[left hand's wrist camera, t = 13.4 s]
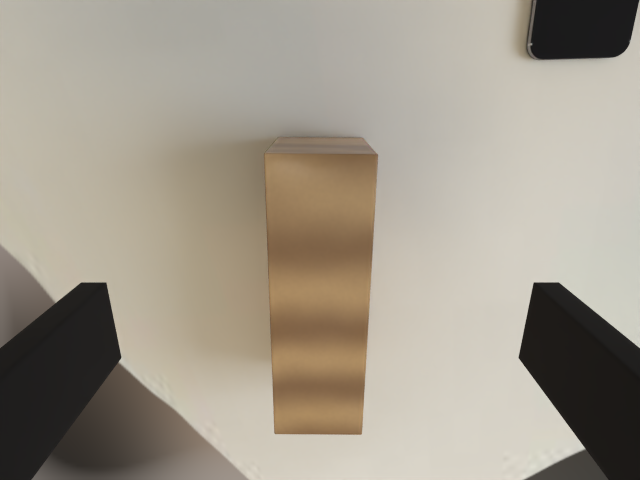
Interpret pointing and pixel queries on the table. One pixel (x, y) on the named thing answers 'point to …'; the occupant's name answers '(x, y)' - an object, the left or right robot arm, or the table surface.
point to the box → (319, 280)
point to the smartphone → (580, 28)
